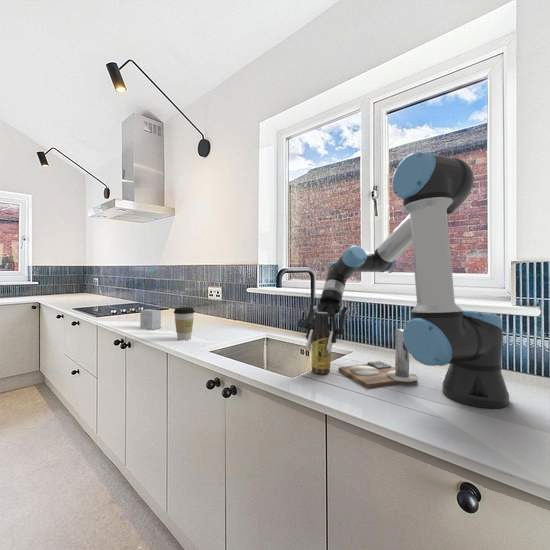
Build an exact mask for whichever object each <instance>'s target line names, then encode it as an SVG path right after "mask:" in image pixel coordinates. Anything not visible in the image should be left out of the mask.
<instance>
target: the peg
mask: <svg viewBox="0 0 550 550" xmlns="http://www.w3.org/2000/svg"><path fill="white" fill-rule="evenodd" d="M403 330H404V328H397V329H395V340H394V341H395V349H394V350H395V352H394V354H395V356H394V357H395V358H394V362H395V363H394V367H395V375H396V376H398V377H404V378H406V377H409V372H410V353H409V352H408V350H407V348H406V346H405V343H404V340H403Z"/></svg>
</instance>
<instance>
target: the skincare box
mask: <svg viewBox="0 0 550 550" xmlns="http://www.w3.org/2000/svg"><path fill="white" fill-rule="evenodd" d="M139 313H140V314H139V315H140V319H139V321H140V322H139V323H140V325H139V326H140V327H139V329H143V328H146V329H145V330H150V329H153V330H157V328H159V329H161V328H162V327H161V326H162V325H161V324H162V321H161V320H162V310H159V309H147V308H146V309H140V312H139Z"/></svg>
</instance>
